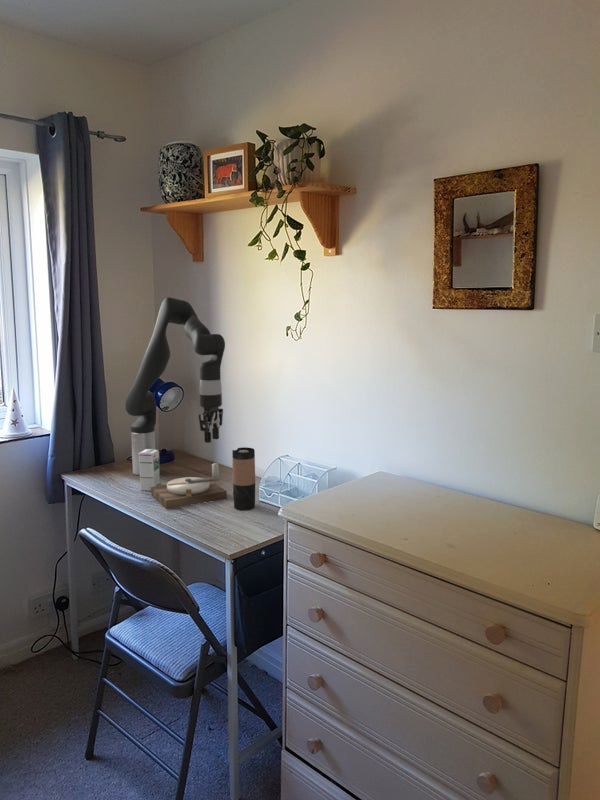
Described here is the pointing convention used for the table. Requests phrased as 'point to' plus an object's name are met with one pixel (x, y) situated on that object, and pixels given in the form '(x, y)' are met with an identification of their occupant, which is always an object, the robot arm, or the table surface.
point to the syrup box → (149, 469)
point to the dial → (193, 483)
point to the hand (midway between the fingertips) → (211, 440)
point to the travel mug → (244, 478)
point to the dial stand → (187, 496)
